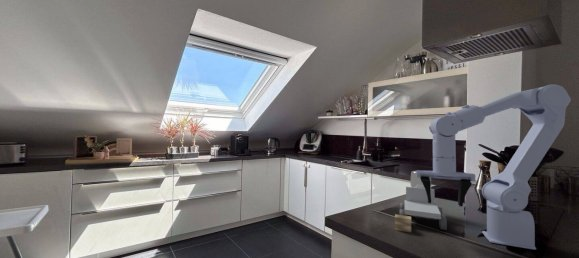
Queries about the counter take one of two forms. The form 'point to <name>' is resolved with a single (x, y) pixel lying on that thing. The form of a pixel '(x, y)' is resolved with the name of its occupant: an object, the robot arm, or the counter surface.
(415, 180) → the beer glass
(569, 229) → the counter surface
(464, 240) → the counter surface
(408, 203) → the trolley
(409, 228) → the block
